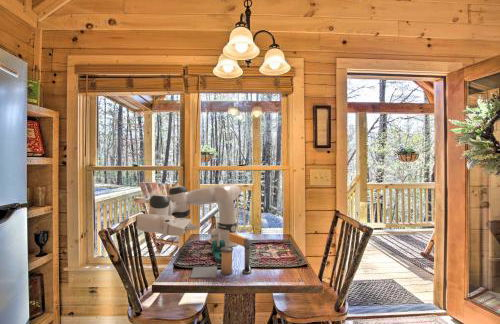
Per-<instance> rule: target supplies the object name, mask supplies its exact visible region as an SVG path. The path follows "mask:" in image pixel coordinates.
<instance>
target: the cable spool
mask: <svg viewBox="0 0 500 324" xmlns="http://www.w3.org/2000/svg"><path fill="white" fill-rule="evenodd" d="M221 251H222V257H221V258H222V261H221V265H220V266H221V270H220V275H222V276H231V275H233V273H234V271H233V251H234V248H233V246H232V247H222V248H221ZM230 274H231V275H230Z"/></svg>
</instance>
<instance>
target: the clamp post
mask: <svg viewBox="0 0 500 324" xmlns="http://www.w3.org/2000/svg"><path fill="white" fill-rule="evenodd" d="M250 248H251V247H250ZM250 248H244V269H242V271H241V272H242V274H243V275H250V274H252V269H250Z"/></svg>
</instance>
